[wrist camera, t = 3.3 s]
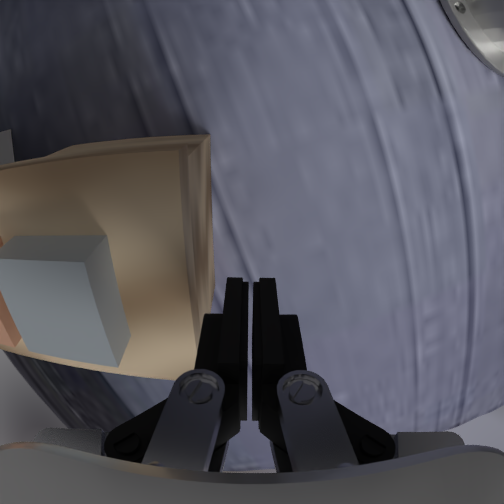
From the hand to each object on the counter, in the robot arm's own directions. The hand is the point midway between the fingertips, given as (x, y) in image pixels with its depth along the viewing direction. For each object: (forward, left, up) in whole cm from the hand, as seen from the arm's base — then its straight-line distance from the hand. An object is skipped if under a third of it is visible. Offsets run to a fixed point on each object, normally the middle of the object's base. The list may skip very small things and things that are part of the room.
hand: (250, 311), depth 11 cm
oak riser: (0, -11, -9) cm, 14 cm away
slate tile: (0, -8, -1) cm, 8 cm away
